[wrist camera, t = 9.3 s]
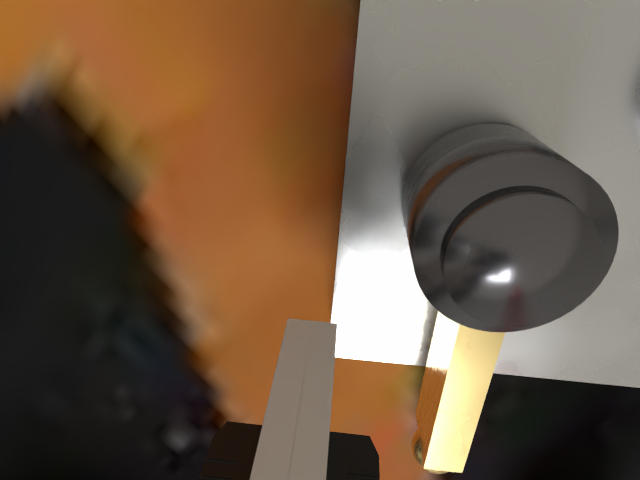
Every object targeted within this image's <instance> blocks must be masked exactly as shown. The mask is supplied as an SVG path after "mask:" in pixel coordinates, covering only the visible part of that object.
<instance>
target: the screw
mask: <svg viewBox="0 0 640 480" xmlns="http://www.w3.org/2000/svg"><path fill="white" fill-rule="evenodd" d="M401 208H402V216H403V221H404V226H405V230H406V235H407V239H408V244H409V249H410V253H411V258H412V262H413V267H414V271H415V276H416V279H417V282H418V284H419V287H420V289H421V291H422V292H423V294H424V296H425V297H426V298H427V300H428V301H429V302H430V304H431V305H432V306H433V307H434V308H435V309H436V310H438V314H437V319H436V323H435V328H434V332H433V337H432V342H431V346H430V351H429V355H428V360H427V364H426V369H425V373H424V378H423V383H422V387H421V392H420V396H419V401H418V405H417V410H416V419H417V426H418V429H417V430H416V432H415V434H414V436H413V439H412V452H413V455H414V458H415V459H416V461H417V463H418V464H419V465H420V466H421V467H422V468H423V469H425V470H426V471H428V472H431V473H434V474H443V473H447V472H449V471H451V472H460V473H462V472H463V469H464V465H465V462H466V459H467V456H468V452H469V449H470V446H471V443H472V439H473V436H474V433H475V430H476V426H477V423H478V420H479V417H480V413H481V410H482V407H483V404H484V400H485V397H486V394H487V391H488V387H489V384H490V381H491V378H492V374H493V371H494V368H495V365H496V361H497V358H498V355H499V352H500V348H501V345H502V342H503V339H504V335H505V332H516V331H522V330H528V329H531V328H535V327H539V326H542V325H544V324H547V323H550V322H552V321H554V320H556V319H558V318H560V317H562V316H564V315H566V314H567V313H569V312H571V311H572V310H574V309H575V308H576V307H578V306H579V305H580V304H582V303H583V302H584V301H585V300H586V299H587V298H588V297H589V296H590V295H591V294H592V293H593V292H594V291H595V290H596V289H597V287H598V286H599V285H600V284H601V282H602V281H603V279H604V278H605V276H606V275H607V273H608V271H609V269H610V267H611V265H612V263H613V260H614V257H615V254H616V251H617V245H618V237H619V227H618V220H617V215H616V212H615V209H614V206H613V204H612V202H611V200H610V198H609V196H608V194H607V193H606V192H605V190H604V189H603V188H602V187H601V185H600V184H599V183H598V182H596V181H595V180H594V179H593V178H592V177H591V176H590V175H588V174H587V173H585V172H584V171H582V170H581V169H580V168H578V167H577V166H575V165H574V164H572V163H571V162H570V161H568V160H567V159H565V158H564V157H562V156H561V155H560V154H558V153H557V152H555V151H554V150H552V149H551V148H550V147H548V146H547V145H545V144H544V143H542V142H541V141H540V140H538V139H537V138H535V137H534V136H532V135H531V134H529V133H527V132H525V131H523V130H521V129H519V128H516V127H512V126H509V125H503V124H477V125H472V126H468V127H464V128H461V129H458V130H456V131H453V132H451V133H449V134H447V135H445V136H443V137H442V138H440V139H439V140H437V141H436V142H434V143H433V144H432V145H431V146H430V147H428V148H427V149H426V150H425V151H424V152H423V153H422V155H421V156H420V157H419V158H418V159H417V161H416V162H415V163H414V165H413V166H412V168H411V170H410V172H409V174H408V176H407V178H406V181H405V184H404V187H403V192H402V200H401Z"/></svg>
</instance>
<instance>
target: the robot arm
mask: <svg viewBox="0 0 640 480" xmlns="http://www.w3.org/2000/svg"><path fill="white" fill-rule="evenodd" d="M336 337H337V323H328V322H319V321H309V320H299V319H289V318H288V320H287V324H286V328H285V333H284V337H283V341H282V345H281V349H280V354H279V358H278V362H277V366H276V370H275V375H274V379H273V383H272V387H271V392H270V396H269V400H268V404H267V408H266V413H265V417H264V421H263V425H255V424H246V423H237V422H228V421H227V422H226V423H225V425H224V426H223V427H222V428H221V429H220V430H219V432H218V433H217V434H216V435H215V436H214V437H213V439H212V442H211V445H210V448H209V451H208V454H207V457H206V461H205V462H204V465H203V468H202V471H201V474H200V479H199V480H379V477H380V475H379V455H378V453H377V451H376V449H375V447H374V445H373V442H372V440H371V438H370V436H365V435H356V434H347V433H338V432H330V419H331V405H332V391H333V378H334V364H335V350H336Z"/></svg>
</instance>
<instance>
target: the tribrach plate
mask: <svg viewBox="0 0 640 480" xmlns="http://www.w3.org/2000/svg"><path fill="white" fill-rule="evenodd" d="M477 124H503V125H509V126H512V127H516V128H519V129H521V130H523V131H525V132H527V133H529V134H531V135H532V136H534V137H535V138H537V139H538V140H540V141H541V142H542V143H544V144H545V145H547V146H548V147H550V148H551V149H552V150H554V151H555V152H557V153H558V154H560V155H561V156H562V157H564V158H565V159H567V160H568V161H570V162H571V163H572V164H574V165H575V166H577V167H578V168H580V169H581V170H582V171H584V172H585V173H587V174H588V175H590V176H591V177H592V178H593V179H594V180H595V181H596V182H598V183H599V184H600V185H601V187H602V188H603V189H604V190H605V192H606V193H607V194H608V196H609V198H610V200H611V202H612V204H613V206H614V209H615V212H616V215H617V220H618V227H619V237H618V245H617V251H616V254H615V257H614V260H613V263H612V265H611V267H610V269H609V271H608V273H607V275H606V276H605V278H604V279H603V281H602V282H601V284H600V285H599V286H598V287H597V289H596V290H595V291H594V292H593V293H592V294H591V295H590V296H589V297H588V298H587V299H586V300H585V301H584V302H583V303H582V304H580V305H579V306H578V307H576V308H575V309H574V310H572V311H571V312H569V313H567V314H566V315H564V316H562V317H560V318H558V319H556V320H554V321H552V322H550V323H547V324H544V325H542V326H539V327H535V328H531V329H528V330H522V331H516V332H505V335H504V339H503V342H502V345H501V348H500V352H499V355H498V358H497V361H496V365H495V368H494V371H493V373H498V374H508V375H518V376H528V377H538V378H548V379H557V380H567V381H577V382H587V383H597V384H607V385H617V386H627V387H637V388H640V0H360V11H359V22H358V33H357V44H356V54H355V65H354V76H353V87H352V98H351V109H350V120H349V130H348V141H347V152H346V163H345V174H344V185H343V196H342V207H341V217H340V228H339V239H338V250H337V261H336V272H335V283H334V293H333V304H332V315H331V323H337V337H336V350H335V357H339V358H349V359H359V360H369V361H379V362H389V363H399V364H409V365H419V366H426V364H427V360H428V355H429V351H430V346H431V342H432V337H433V332H434V328H435V323H436V319H437V314H438V310H436V309H435V308H434V307H433V306H432V305H431V304H430V302H429V301H428V300H427V298H426V297H425V296H424V294H423V292H422V291H421V289H420V287H419V284H418V282H417V279H416V276H415V271H414V267H413V262H412V258H411V253H410V249H409V244H408V239H407V235H406V230H405V226H404V221H403V216H402V208H401V200H402V192H403V187H404V184H405V181H406V178H407V176H408V174H409V172H410V170H411V168H412V166H413V165H414V163H415V162H416V161H417V159H418V158H419V157H420V156H421V155H422V153H423V152H424V151H425V150H426V149H427V148H428V147H430V146H431V145H432V144H433V143H434V142H436V141H437V140H439V139H440V138H442V137H443V136H445V135H447V134H449V133H451V132H453V131H456V130H458V129H461V128H464V127H468V126H472V125H477Z"/></svg>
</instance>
